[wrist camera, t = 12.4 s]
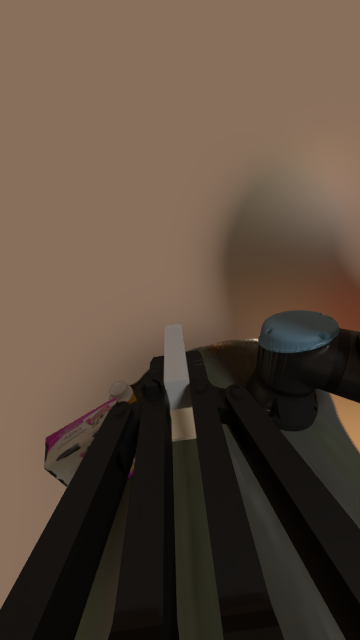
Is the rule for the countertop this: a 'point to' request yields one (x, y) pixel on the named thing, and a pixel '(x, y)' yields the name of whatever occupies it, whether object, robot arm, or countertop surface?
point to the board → (182, 424)
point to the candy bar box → (74, 444)
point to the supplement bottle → (122, 392)
